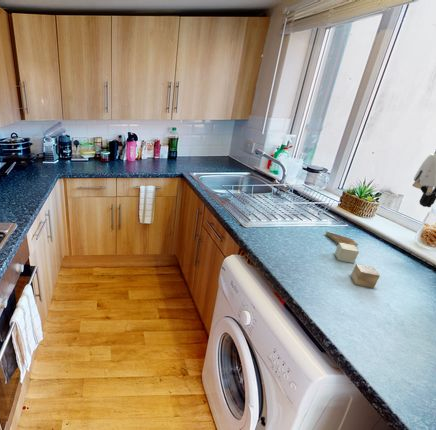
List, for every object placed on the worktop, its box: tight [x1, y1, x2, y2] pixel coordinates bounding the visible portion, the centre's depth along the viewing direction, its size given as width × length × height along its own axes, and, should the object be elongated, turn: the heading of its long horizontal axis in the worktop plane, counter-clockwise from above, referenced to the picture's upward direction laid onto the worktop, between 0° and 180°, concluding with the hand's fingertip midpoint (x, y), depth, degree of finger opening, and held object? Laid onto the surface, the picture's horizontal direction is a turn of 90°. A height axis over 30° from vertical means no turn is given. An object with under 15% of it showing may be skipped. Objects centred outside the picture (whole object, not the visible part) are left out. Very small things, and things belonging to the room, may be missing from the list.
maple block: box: [350, 263, 381, 289], centre depth 95 cm, size 5×5×5 cm
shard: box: [325, 230, 359, 248], centre depth 121 cm, size 11×8×2 cm
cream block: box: [334, 243, 360, 264], centre depth 108 cm, size 5×5×5 cm
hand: (424, 205), depth 97 cm, fingers closed
